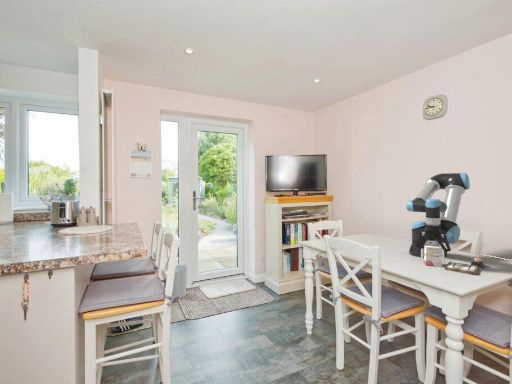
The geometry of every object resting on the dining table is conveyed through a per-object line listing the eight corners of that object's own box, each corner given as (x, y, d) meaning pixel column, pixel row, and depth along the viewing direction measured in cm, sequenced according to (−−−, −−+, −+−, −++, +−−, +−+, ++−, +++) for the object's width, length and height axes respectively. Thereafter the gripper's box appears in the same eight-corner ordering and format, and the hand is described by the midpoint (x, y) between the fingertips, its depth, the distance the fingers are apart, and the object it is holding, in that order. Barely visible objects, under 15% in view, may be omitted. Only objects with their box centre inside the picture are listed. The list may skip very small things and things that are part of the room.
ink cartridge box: (425, 265, 162) (425, 241, 161) (423, 263, 166) (423, 240, 166) (442, 267, 159) (442, 242, 158) (439, 264, 164) (439, 240, 163)
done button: (473, 262, 160) (473, 258, 160) (474, 260, 162) (474, 257, 162) (481, 263, 157) (481, 260, 157) (482, 262, 160) (482, 258, 160)
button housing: (471, 265, 160) (471, 261, 160) (472, 263, 164) (472, 259, 164) (484, 267, 156) (484, 263, 156) (485, 265, 160) (485, 261, 160)
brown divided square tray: (444, 269, 154) (444, 266, 154) (449, 263, 164) (449, 261, 164) (476, 275, 144) (476, 272, 144) (479, 268, 155) (479, 265, 154)
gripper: (410, 223, 167) (409, 258, 168) (455, 227, 151) (454, 265, 152) (413, 222, 173) (413, 255, 173) (457, 225, 156) (457, 262, 157)
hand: (432, 260), depth 163 cm, fingers open, 10 cm apart
